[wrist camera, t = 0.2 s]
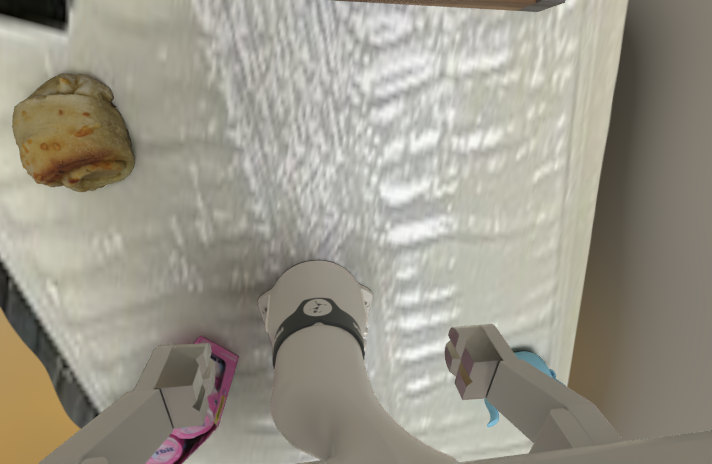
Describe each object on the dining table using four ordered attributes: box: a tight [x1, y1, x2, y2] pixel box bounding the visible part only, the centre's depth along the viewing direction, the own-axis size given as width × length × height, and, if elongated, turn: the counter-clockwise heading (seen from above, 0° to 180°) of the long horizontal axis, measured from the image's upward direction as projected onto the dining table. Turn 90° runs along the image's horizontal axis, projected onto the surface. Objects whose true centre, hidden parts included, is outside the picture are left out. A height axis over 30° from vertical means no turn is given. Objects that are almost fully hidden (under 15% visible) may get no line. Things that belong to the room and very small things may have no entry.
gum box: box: [146, 336, 239, 464], centre depth 53 cm, size 24×8×14 cm, turn 137°
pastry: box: [12, 74, 135, 192], centre depth 39 cm, size 14×12×8 cm
